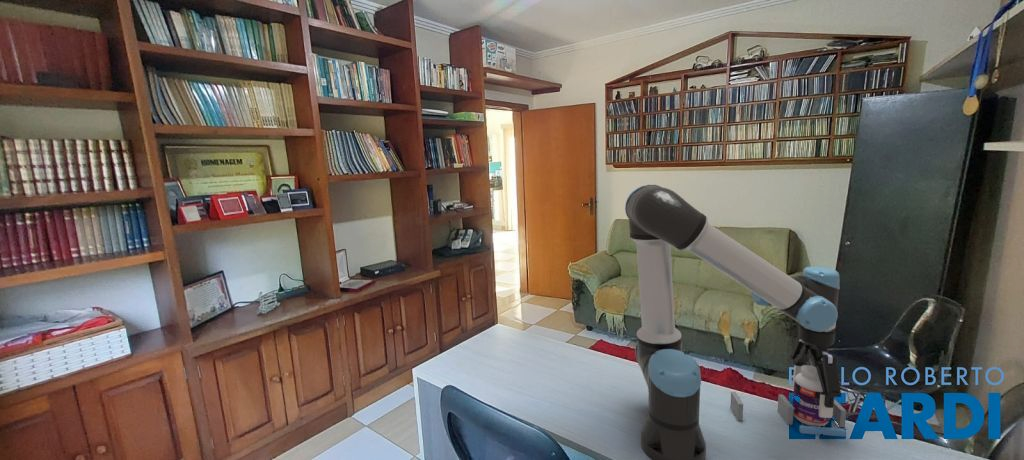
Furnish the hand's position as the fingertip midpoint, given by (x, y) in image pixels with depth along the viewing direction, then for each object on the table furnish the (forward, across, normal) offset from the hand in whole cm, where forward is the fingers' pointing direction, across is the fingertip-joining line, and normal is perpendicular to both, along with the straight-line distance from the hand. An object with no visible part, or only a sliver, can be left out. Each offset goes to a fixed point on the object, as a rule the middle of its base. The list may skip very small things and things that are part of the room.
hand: (811, 401), depth 109 cm
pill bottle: (+5, 0, 0) cm, 5 cm away
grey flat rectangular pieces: (+5, -2, +6) cm, 8 cm away
